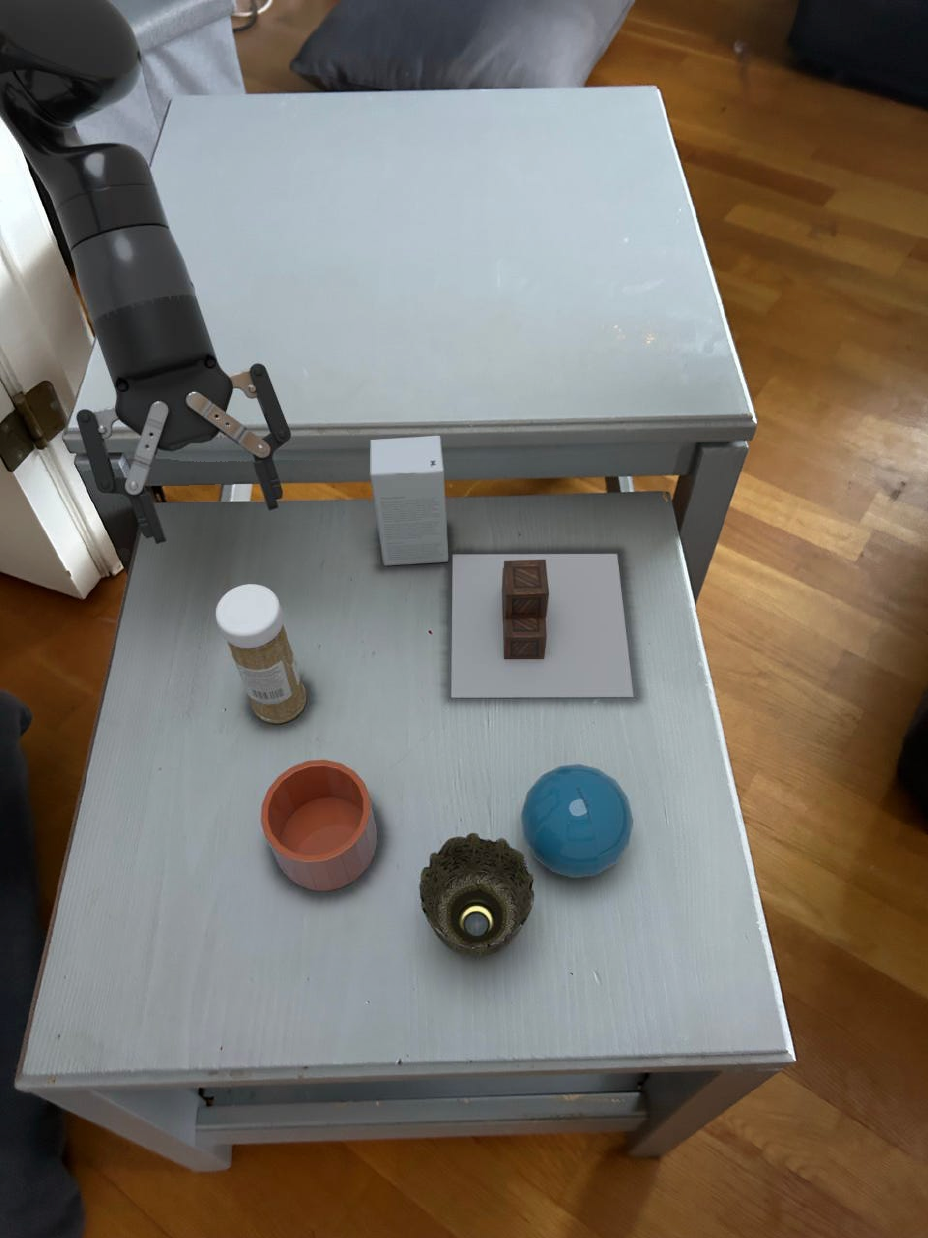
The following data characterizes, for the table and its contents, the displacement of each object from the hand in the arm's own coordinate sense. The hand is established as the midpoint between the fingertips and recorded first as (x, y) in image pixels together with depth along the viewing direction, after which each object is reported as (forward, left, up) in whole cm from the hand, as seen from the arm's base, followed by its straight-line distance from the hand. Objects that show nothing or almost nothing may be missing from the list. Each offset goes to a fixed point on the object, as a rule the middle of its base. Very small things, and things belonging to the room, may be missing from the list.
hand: (218, 525), depth 71 cm
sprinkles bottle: (0, -8, -14) cm, 16 cm away
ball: (+17, -28, -14) cm, 36 cm away
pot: (0, -21, -14) cm, 25 cm away
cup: (+8, -31, -14) cm, 35 cm away
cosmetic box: (+16, +3, -14) cm, 22 cm away
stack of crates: (+23, -9, -14) cm, 28 cm away
